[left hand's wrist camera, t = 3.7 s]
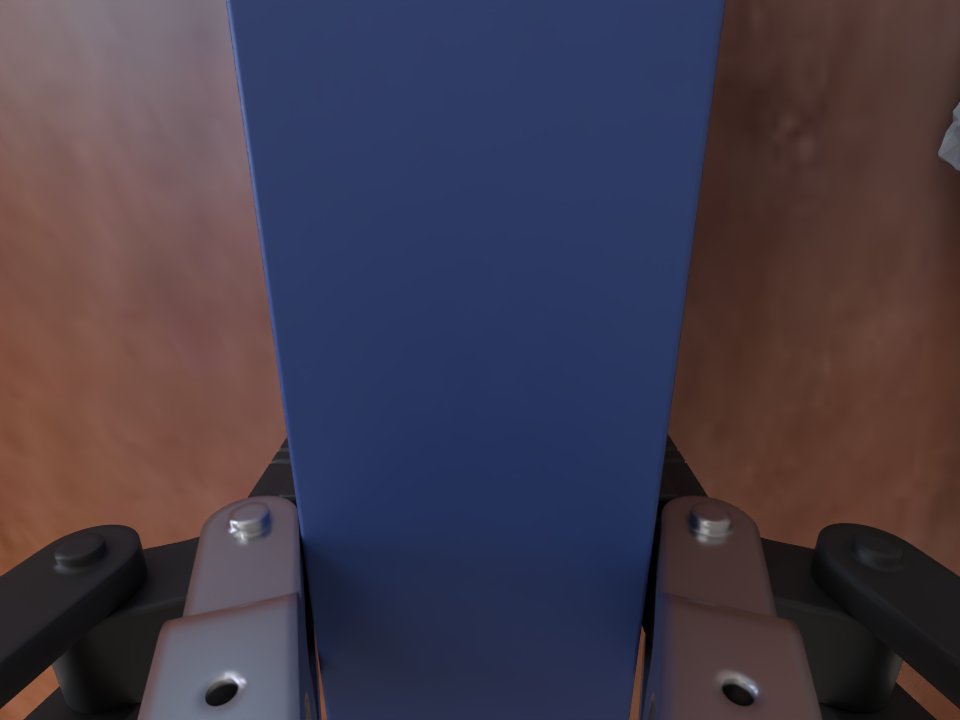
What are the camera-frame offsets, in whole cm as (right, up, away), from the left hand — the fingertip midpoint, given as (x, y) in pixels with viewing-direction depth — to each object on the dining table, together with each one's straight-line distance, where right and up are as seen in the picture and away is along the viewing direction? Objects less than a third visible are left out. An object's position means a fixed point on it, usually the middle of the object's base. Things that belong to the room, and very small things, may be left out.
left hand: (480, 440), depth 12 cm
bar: (0, +10, 0) cm, 10 cm away
